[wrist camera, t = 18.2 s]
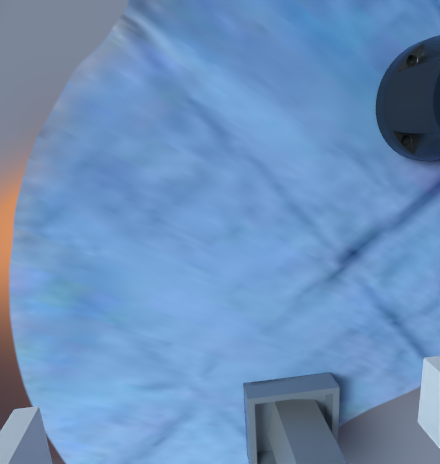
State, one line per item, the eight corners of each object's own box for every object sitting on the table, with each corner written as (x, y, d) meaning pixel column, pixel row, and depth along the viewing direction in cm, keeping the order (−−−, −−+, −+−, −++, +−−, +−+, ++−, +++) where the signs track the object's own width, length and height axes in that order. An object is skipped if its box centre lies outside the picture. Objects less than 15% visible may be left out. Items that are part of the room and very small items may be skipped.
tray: (330, 372, 56) (339, 387, 53) (328, 443, 60) (337, 461, 56) (243, 383, 55) (247, 399, 52) (247, 455, 59) (251, 474, 55)
